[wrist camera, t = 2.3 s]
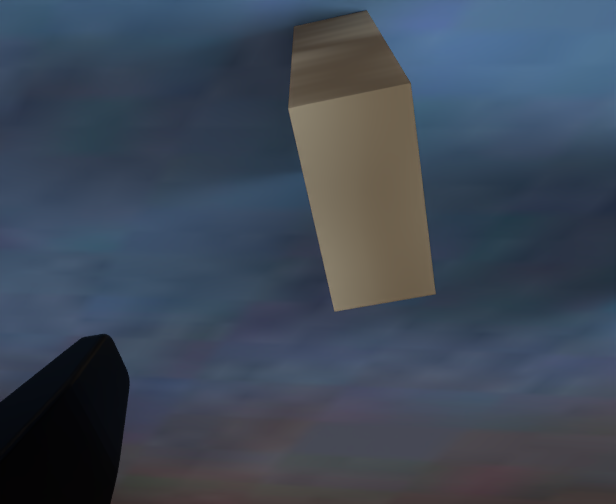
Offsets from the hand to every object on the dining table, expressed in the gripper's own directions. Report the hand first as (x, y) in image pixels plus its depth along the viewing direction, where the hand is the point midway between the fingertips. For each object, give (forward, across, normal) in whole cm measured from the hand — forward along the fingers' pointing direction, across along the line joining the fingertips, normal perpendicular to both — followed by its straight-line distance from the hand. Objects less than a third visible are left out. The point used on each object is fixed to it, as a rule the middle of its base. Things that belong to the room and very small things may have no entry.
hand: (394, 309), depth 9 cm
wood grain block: (+13, 0, 0) cm, 13 cm away
